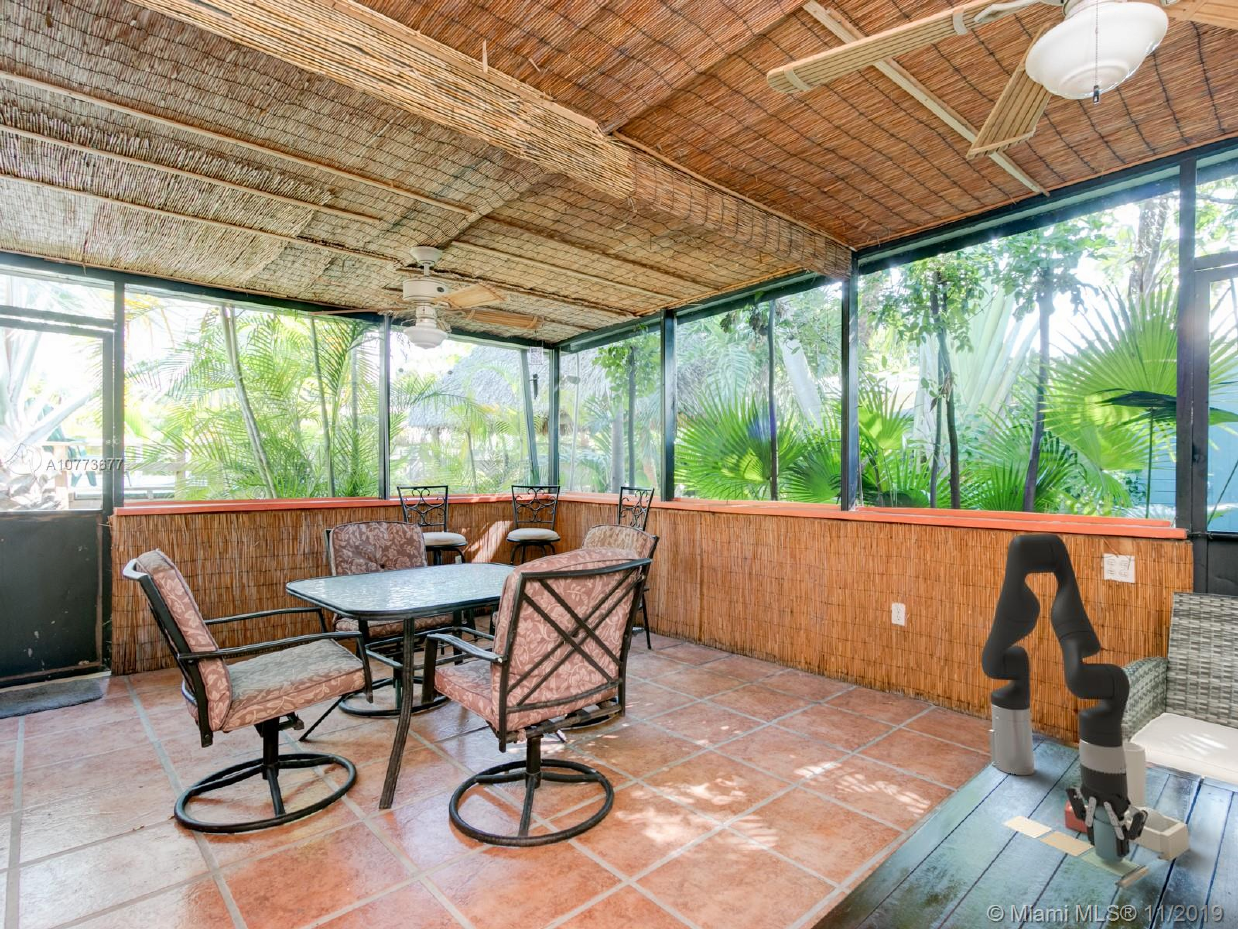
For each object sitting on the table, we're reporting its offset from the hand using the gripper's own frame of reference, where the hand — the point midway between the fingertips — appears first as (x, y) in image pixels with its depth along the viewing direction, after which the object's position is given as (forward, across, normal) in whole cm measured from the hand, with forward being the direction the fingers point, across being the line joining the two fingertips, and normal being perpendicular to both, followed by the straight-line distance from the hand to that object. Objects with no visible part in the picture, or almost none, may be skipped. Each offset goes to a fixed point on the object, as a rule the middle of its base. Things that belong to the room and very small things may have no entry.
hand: (1108, 850), depth 127 cm
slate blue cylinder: (+1, 0, 0) cm, 1 cm away
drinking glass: (+4, -9, +30) cm, 32 cm away
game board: (+4, -8, 0) cm, 9 cm away
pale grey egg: (+3, 0, +17) cm, 17 cm away
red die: (+4, -10, +10) cm, 15 cm away
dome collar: (+4, 0, +17) cm, 17 cm away
